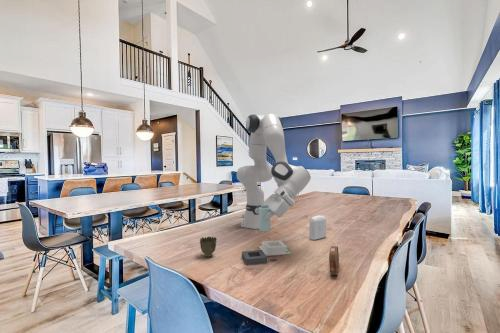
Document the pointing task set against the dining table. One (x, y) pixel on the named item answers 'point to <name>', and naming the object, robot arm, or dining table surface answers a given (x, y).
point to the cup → (208, 245)
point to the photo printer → (317, 227)
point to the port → (274, 248)
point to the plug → (263, 223)
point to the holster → (254, 257)
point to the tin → (334, 260)
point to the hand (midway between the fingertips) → (263, 217)
